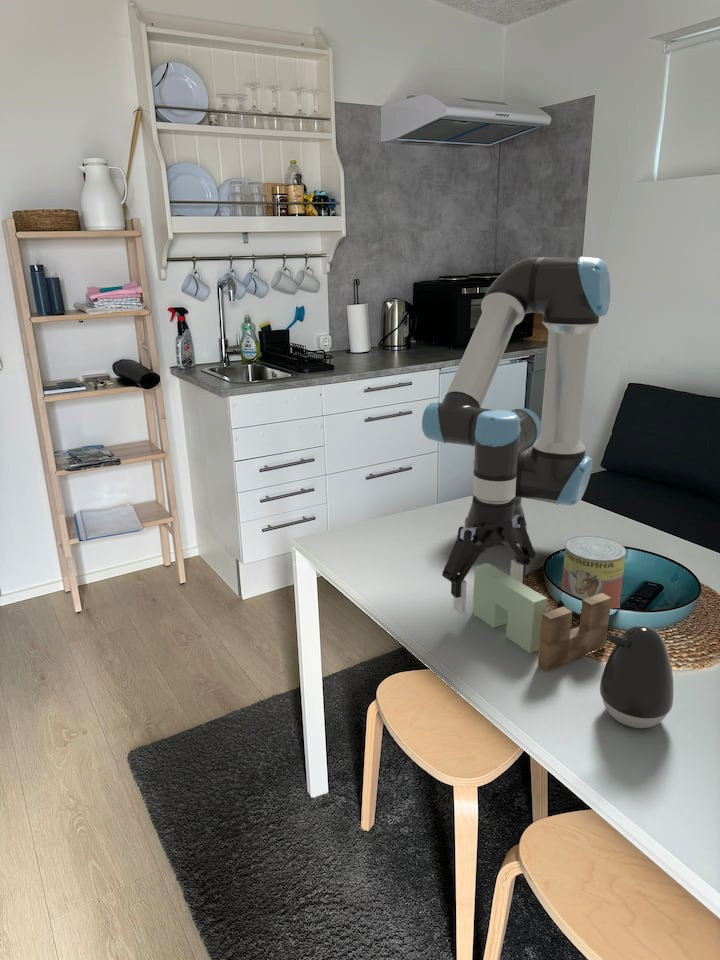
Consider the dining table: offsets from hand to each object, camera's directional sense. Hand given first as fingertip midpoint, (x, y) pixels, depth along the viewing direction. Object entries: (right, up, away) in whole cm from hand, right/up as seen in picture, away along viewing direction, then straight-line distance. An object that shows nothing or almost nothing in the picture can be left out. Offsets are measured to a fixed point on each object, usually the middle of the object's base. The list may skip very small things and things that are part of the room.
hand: (487, 601), depth 132 cm
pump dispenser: (+17, -13, -27) cm, 34 cm away
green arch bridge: (+3, -5, -3) cm, 6 cm away
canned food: (+21, -1, +6) cm, 22 cm away
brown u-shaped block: (+12, -7, -12) cm, 19 cm away
